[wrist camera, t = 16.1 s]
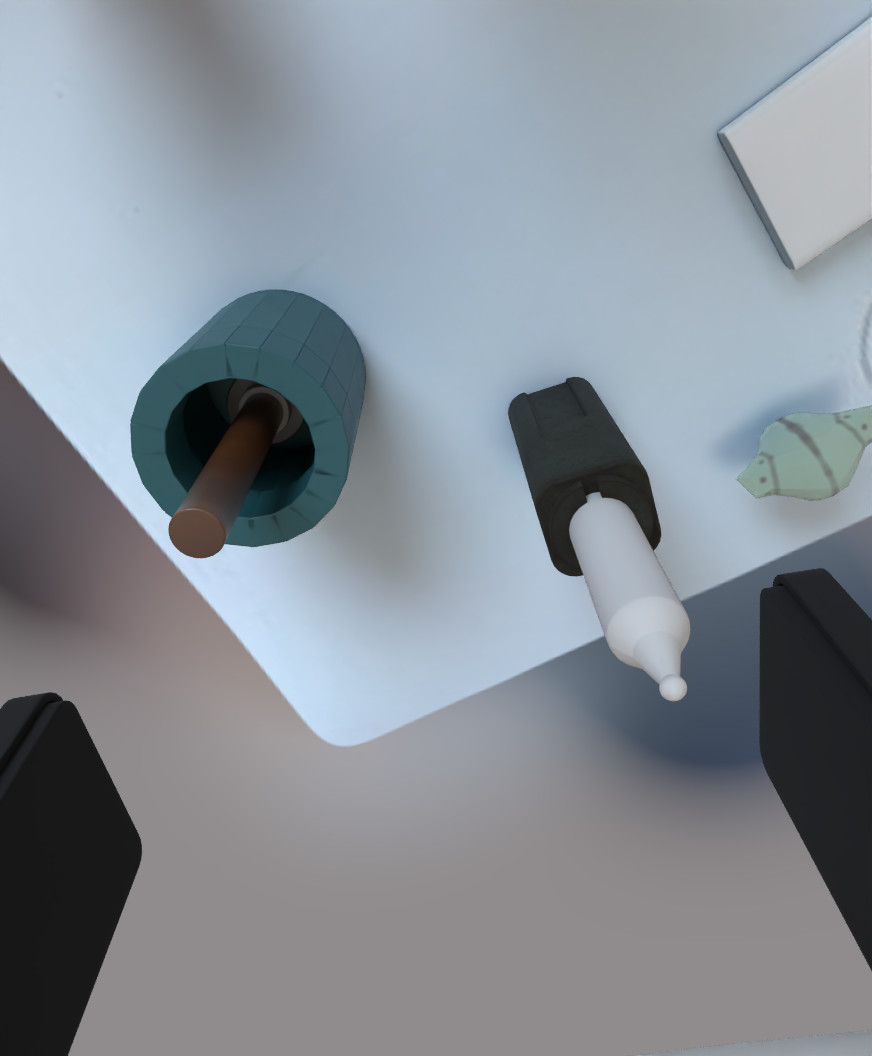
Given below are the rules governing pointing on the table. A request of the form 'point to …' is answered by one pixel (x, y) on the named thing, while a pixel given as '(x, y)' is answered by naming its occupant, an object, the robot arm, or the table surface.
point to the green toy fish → (809, 454)
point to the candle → (602, 524)
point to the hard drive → (810, 151)
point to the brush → (232, 467)
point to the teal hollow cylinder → (278, 363)
